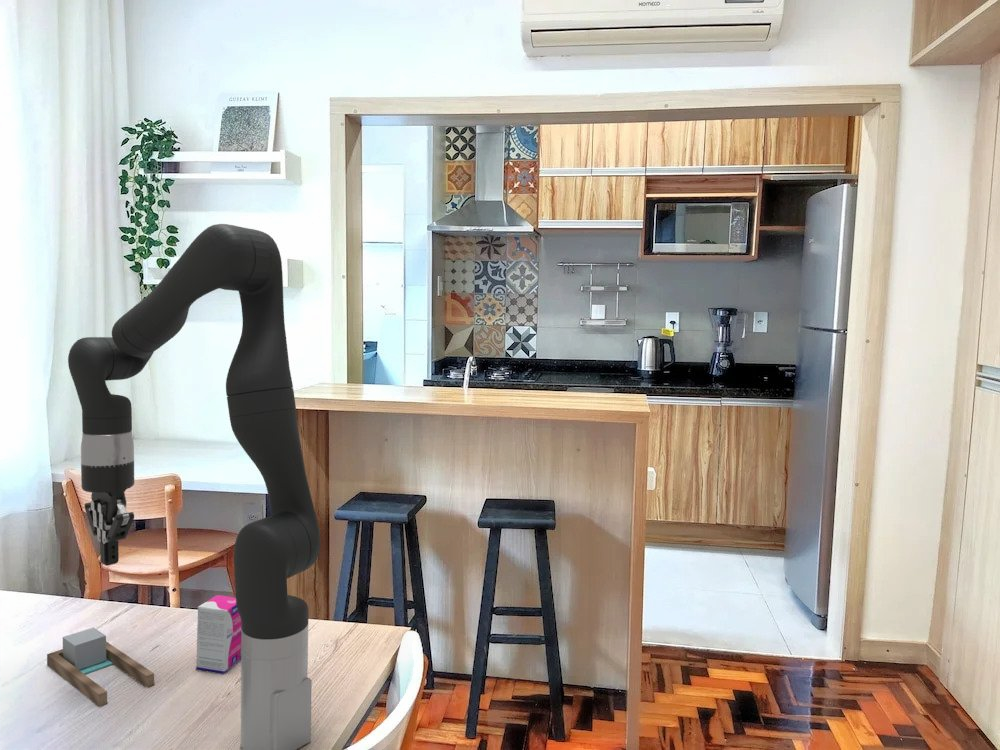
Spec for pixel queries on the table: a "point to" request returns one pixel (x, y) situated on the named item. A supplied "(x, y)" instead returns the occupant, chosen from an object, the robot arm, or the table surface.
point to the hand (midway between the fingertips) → (109, 563)
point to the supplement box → (218, 635)
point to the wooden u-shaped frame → (84, 682)
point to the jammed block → (85, 648)
